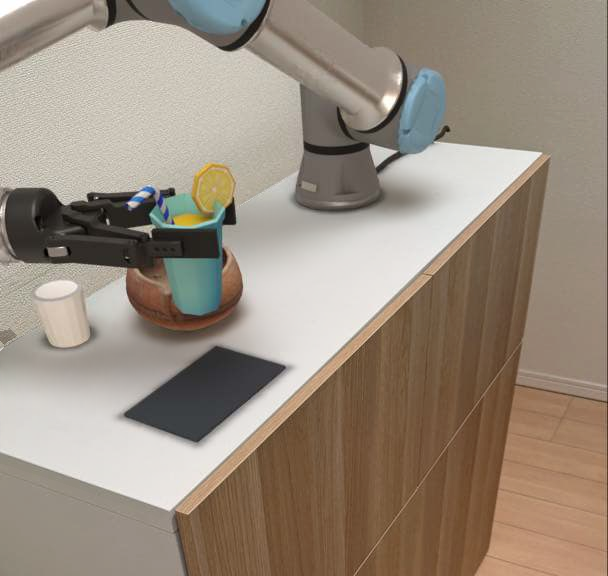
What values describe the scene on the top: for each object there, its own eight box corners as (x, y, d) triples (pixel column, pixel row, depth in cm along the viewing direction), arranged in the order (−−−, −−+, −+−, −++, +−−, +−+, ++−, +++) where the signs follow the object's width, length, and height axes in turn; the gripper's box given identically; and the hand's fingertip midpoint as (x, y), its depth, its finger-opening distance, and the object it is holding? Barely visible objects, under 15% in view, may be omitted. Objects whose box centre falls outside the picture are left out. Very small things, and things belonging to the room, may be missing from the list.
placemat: (216, 348, 102) (216, 345, 101) (285, 368, 97) (285, 365, 97) (124, 416, 91) (123, 413, 90) (197, 442, 86) (196, 439, 86)
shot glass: (48, 327, 108) (34, 279, 103) (97, 323, 108) (85, 275, 104) (40, 352, 103) (25, 302, 98) (92, 347, 103) (79, 298, 99)
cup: (178, 348, 81) (157, 208, 70) (124, 323, 84) (95, 186, 73) (258, 288, 88) (251, 153, 77) (206, 268, 91) (192, 135, 80)
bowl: (162, 359, 100) (148, 286, 93) (117, 314, 110) (101, 245, 103) (266, 324, 106) (260, 252, 99) (214, 284, 116) (205, 217, 109)
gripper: (62, 224, 93) (248, 224, 90) (-11, 303, 77) (209, 307, 75) (45, 157, 87) (241, 155, 85) (-37, 228, 72) (198, 229, 70)
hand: (226, 226), depth 80 cm, fingers closed on cup, 8 cm apart
